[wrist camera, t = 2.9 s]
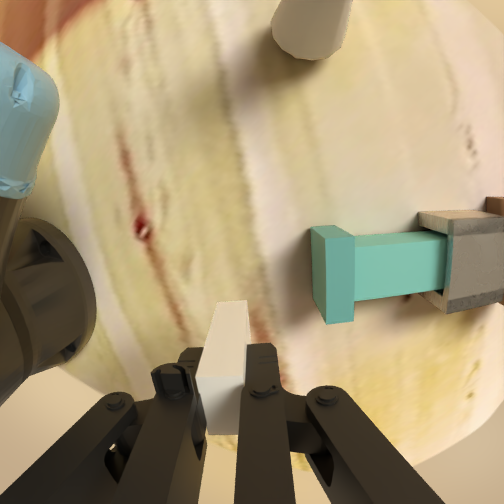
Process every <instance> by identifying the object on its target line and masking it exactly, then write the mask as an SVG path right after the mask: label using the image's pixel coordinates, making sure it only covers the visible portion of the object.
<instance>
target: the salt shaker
mask: <svg viewBox="0 0 504 504" xmlns="http://www.w3.org/2000/svg"><path fill="white" fill-rule="evenodd" d="M352 1H353V0H281V2H280V4H279V6H278V7H277V9H276V11H275V13H274V16H273V18H272V20H271V28H272V35H273V38H274V40H275V41H276V42H277V44H278V45H279V46H280V47H281V49H282V50H284V51H286V52H287V53H289V54H291V55H292V56H293V57H294V58H296V59H307V60H318V59H323V58H328V57H330V56H331V55H332V54H333V53H335V52H336V51H337V50H338V49H340V48H341V46H342V43H343V40H344V38H345V35H346V30H347V25H348V21H349V16H350V11H351V6H352Z"/></svg>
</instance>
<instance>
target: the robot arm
mask: <svg viewBox="0 0 504 504" xmlns="http://www.w3.org/2000/svg"><path fill="white" fill-rule="evenodd" d="M58 111H59V94H58V89H57V87H56V84H55V82H54V80H53V79H52V78H51V76H50V75H49V74H47V73H46V72H45V71H44V70H42V69H41V68H40V67H38V66H37V65H35V64H34V63H32V62H31V61H29V60H28V59H26V58H25V57H23V56H22V55H20V54H19V53H17V52H16V51H14V50H13V49H11V48H10V47H8V46H7V45H5V44H3V43H2V42H0V406H1V405H2V404H3V403H4V402H5V401H6V400H7V399H8V398H9V397H10V396H11V394H13V392H14V391H15V390H16V389H17V388H18V387H19V386H20V385H21V384H22V383H23V382H24V381H25V380H26V379H27V378H28V377H29V376H31V375H33V374H36V373H39V372H42V371H44V370H47V369H50V368H53V367H56V366H58V365H61V364H64V363H66V362H68V361H69V360H71V359H72V358H73V357H75V356H76V355H77V354H78V352H79V351H80V350H81V349H82V348H83V347H84V346H85V345H86V344H87V342H88V341H89V339H90V337H91V335H92V333H93V330H94V326H95V321H96V299H95V292H94V288H93V284H92V280H91V277H90V275H89V272H88V269H87V267H86V265H85V263H84V261H83V259H82V257H81V255H80V254H79V252H78V251H77V249H76V248H75V246H74V245H73V244H72V242H71V241H70V240H69V239H68V238H67V237H66V236H65V235H64V234H63V233H62V232H61V231H60V230H59V229H57V228H56V227H55V226H53V225H52V224H50V223H48V222H46V221H43V220H41V219H37V218H22V219H20V216H21V213H22V210H23V207H24V204H25V201H26V198H27V196H28V195H30V194H31V193H32V190H33V187H34V185H35V180H36V176H37V171H36V169H37V166H38V163H39V161H40V158H41V155H42V153H43V150H44V148H45V145H46V143H47V140H48V138H49V135H50V133H51V131H52V128H53V126H54V124H55V122H56V119H57V116H58ZM151 376H152V380H153V383H154V387H155V390H156V395H155V397H154V398H153V399H149V400H144V401H137V402H134V399H133V398H132V396H131V395H130V394H127V393H125V392H114V393H110V394H108V395H105V396H104V397H102V398H101V399H100V400H99V401H98V402H97V403H96V404H95V405H94V406H93V407H92V408H91V409H90V410H89V411H87V412H86V413H85V414H84V415H83V416H82V417H81V418H80V419H79V420H78V421H77V422H76V423H75V424H74V425H73V426H72V427H71V428H70V429H69V430H68V431H67V432H66V433H65V434H64V435H63V436H62V437H60V438H59V439H58V440H57V441H56V442H55V443H54V444H53V445H52V446H51V447H50V448H49V449H48V450H47V451H46V452H45V453H44V454H43V455H42V456H41V457H40V458H39V459H38V460H36V461H35V462H34V463H33V464H32V465H31V466H30V467H29V468H28V469H27V470H26V471H25V472H24V473H23V474H22V475H21V476H20V477H19V478H18V479H17V480H16V481H15V482H14V483H13V484H12V485H10V486H9V487H8V488H7V489H6V490H5V491H4V492H3V493H2V494H1V495H0V504H198V499H199V492H200V486H201V480H202V474H203V467H204V461H205V455H206V449H207V441H206V437H205V431H206V426H207V430H208V434H209V435H238V447H237V463H236V478H235V494H234V504H296V502H295V492H294V483H293V474H292V466H291V457H290V452H297V453H305V457H306V459H307V461H308V462H309V464H310V466H311V468H312V470H313V472H314V473H315V475H316V477H317V479H318V481H319V482H320V484H321V486H322V488H323V489H324V491H325V493H326V495H327V497H328V498H329V500H330V502H331V504H445V503H444V502H443V501H442V500H441V498H440V497H439V496H438V495H437V494H436V493H435V492H434V491H433V490H432V489H431V487H430V486H429V485H428V484H427V483H426V482H425V481H424V480H423V479H422V477H421V476H420V475H419V474H418V473H417V472H416V471H415V470H414V469H413V467H412V466H411V465H410V464H409V463H408V462H407V461H406V460H405V458H404V457H403V456H402V455H401V454H400V453H399V452H398V451H397V449H396V448H395V447H394V446H393V445H392V444H391V443H390V442H389V440H388V439H387V438H386V437H385V436H384V435H383V434H382V433H381V431H380V430H379V429H378V428H377V427H376V426H375V425H374V423H373V422H372V421H371V420H370V419H369V418H368V417H367V415H366V414H365V413H364V412H363V411H362V410H361V408H360V407H359V406H358V405H357V404H356V403H355V402H354V400H353V399H352V398H351V397H350V396H349V395H348V393H347V392H346V391H344V390H343V389H342V388H339V387H336V386H327V385H326V386H320V387H317V388H314V389H312V390H311V391H310V392H309V393H308V394H307V396H300V395H295V394H292V393H289V392H287V391H286V390H284V389H283V387H282V386H281V382H280V374H279V366H278V358H277V350H276V348H275V347H274V346H273V345H272V344H271V343H260V344H251V336H250V326H249V315H248V305H247V300H240V301H225V302H217V305H216V308H215V312H214V315H213V318H212V322H211V325H210V328H209V332H208V335H207V339H206V342H205V345H204V347H197V348H187V349H186V350H185V351H183V352H182V353H181V354H180V357H179V359H178V362H177V363H167V364H164V365H160V366H158V367H157V368H155V369H154V370H153V371H152V372H151ZM113 444H115V447H114V448H113V449H112V450H110V449H109V448H110V447H111V446H112V445H113Z"/></svg>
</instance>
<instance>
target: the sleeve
mask: <svg viewBox="0 0 504 504" xmlns="http://www.w3.org/2000/svg"><path fill="white" fill-rule="evenodd" d="M418 215H419V223H418V225H419V226H423V227H426V228H429V229H432V230H435V231H438V232H441V233H444V234H447V235H448V241H447V259H446V272H445V282H444V288H443V289H437V290H431V291H425V292H418V294H420V295H421V296H422V297H424V298H425V299H426V300H428V301H429V302H430V303H432V304H433V305H434V306H436V307H437V308H438V309H440V310H441V311H442V312H444V313H445V314H450V313H455V312H459V311H464V310H468V309H472V308H476V307H480V306H485V305H489V304H492V303H496V302H500V301H502V300H503V294H504V216H501V215H496V214H492V213H487V212H482V211H477V210H454V211H425V212H418Z"/></svg>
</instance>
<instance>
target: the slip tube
mask: <svg viewBox="0 0 504 504" xmlns="http://www.w3.org/2000/svg"><path fill="white" fill-rule="evenodd" d="M310 231H311V254H312V286H313V299H314V301H315V303H316V305H317V307H318V309H319V311H320V313H321V315H322V317H323V319H324V321H325V323H326V325H327V324H335V323H343V322H351V321H354V301H360V300H368V299H376V298H384V297H391V296H398V295H405V294H412V293H418V292H425V291H431V290H437V289H443V288H444V282H445V272H446V259H447V241H448V235H447V234H444V233H441V232H438V231H435V230H432V231H418V232H404V233H389V234H375V235H362V236H353V235H351V234H349V233H348V232H346V231H344V230H342V229H340V228H339V227H337V226H335V225H331V226H316V227H310Z"/></svg>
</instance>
